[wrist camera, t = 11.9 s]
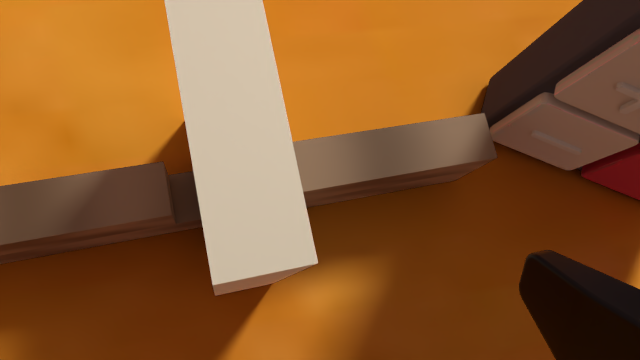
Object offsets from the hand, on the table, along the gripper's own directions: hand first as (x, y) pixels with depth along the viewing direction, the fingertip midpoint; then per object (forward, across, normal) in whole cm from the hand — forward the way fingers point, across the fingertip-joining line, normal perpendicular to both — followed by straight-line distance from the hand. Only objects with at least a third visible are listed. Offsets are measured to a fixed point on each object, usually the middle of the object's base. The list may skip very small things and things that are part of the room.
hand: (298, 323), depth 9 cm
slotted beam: (+13, 0, +6) cm, 14 cm away
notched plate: (+13, 0, +6) cm, 14 cm away
